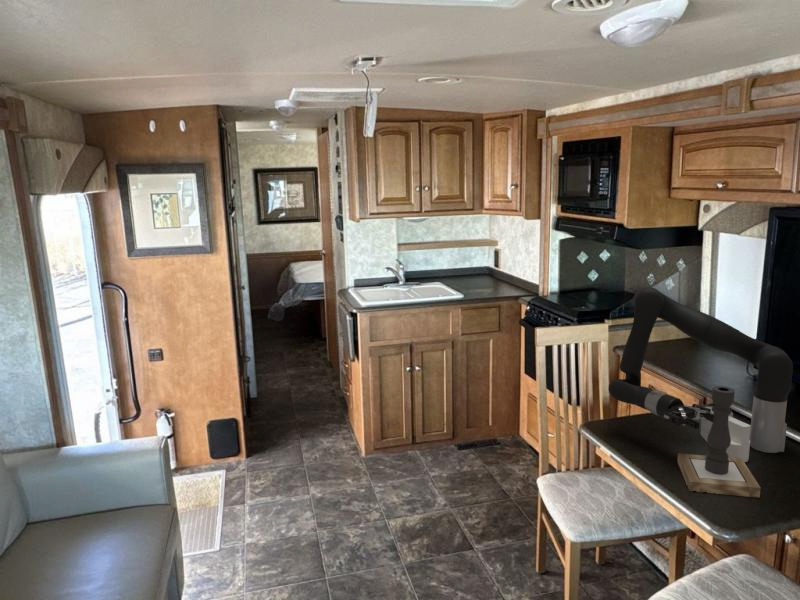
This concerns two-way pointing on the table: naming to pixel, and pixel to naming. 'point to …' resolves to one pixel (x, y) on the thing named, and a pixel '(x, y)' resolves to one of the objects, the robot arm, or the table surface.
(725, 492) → the stand
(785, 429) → the robot arm
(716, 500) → the table surface
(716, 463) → the candle holder
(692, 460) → the platform
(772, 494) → the table surface
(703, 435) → the small box
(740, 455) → the cylinder with rectangular tab
